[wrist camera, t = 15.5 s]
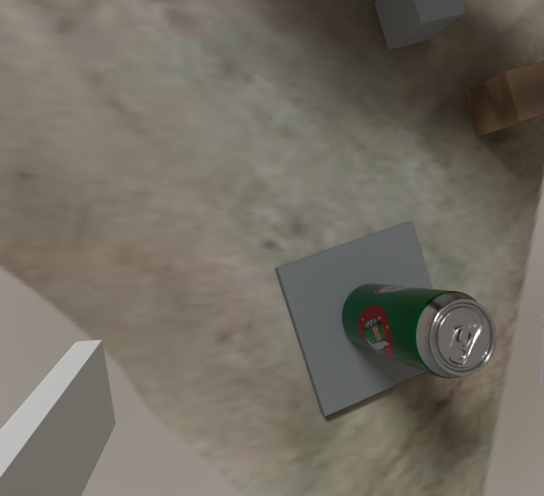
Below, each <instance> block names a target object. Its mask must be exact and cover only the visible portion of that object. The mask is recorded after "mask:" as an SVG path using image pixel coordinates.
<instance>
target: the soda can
mask: <svg viewBox="0 0 544 496" xmlns="http://www.w3.org/2000/svg"><path fill="white" fill-rule="evenodd" d="M342 323H343V327H344V330H345V332H346V334H347V335H348V337H349V338H350V339H351V340H352V341H353V342H354V343H355V344H357V345H359V346H361V347H363V348H366V349H369V350H371V351H374V352H376V353H379V354H382V355H384V356H387V357H389V358H392V359H395V360H397V361H400V362H403V363H405V364H408V365H410V366H413V367H416V368H418V369H421V370H423V371H426V372H429V373H431V374H434V375H437V376H439V377H443V378H458V377H462V376H466V375H471V374H474V373H476V372H478V371H479V370H481V369H482V368H483V367H484V366H485V365H486V364H487V363H488V361H489V360H490V358H491V356H492V354H493V352H494V349H495V345H496V328H495V324H494V321H493V319H492V317H491V315H490V313H489V312H488V311H487V310H486V308H485V307H483V306H482V305H481V304H479V303H478V302H477V301H476V300H475V299H473V298H472V297H471V296H469V295H467V294H465V293H462V292H457V291H448V290H438V289H427V288H417V287H407V286H396V285H386V284H376V283H369V284H364V285H362V286H359V287H358V288H356V289H355V290H354V291H352V292H351V294H350V295H349V296H348V298H347V299H346V301H345V303H344V306H343V310H342Z"/></svg>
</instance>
